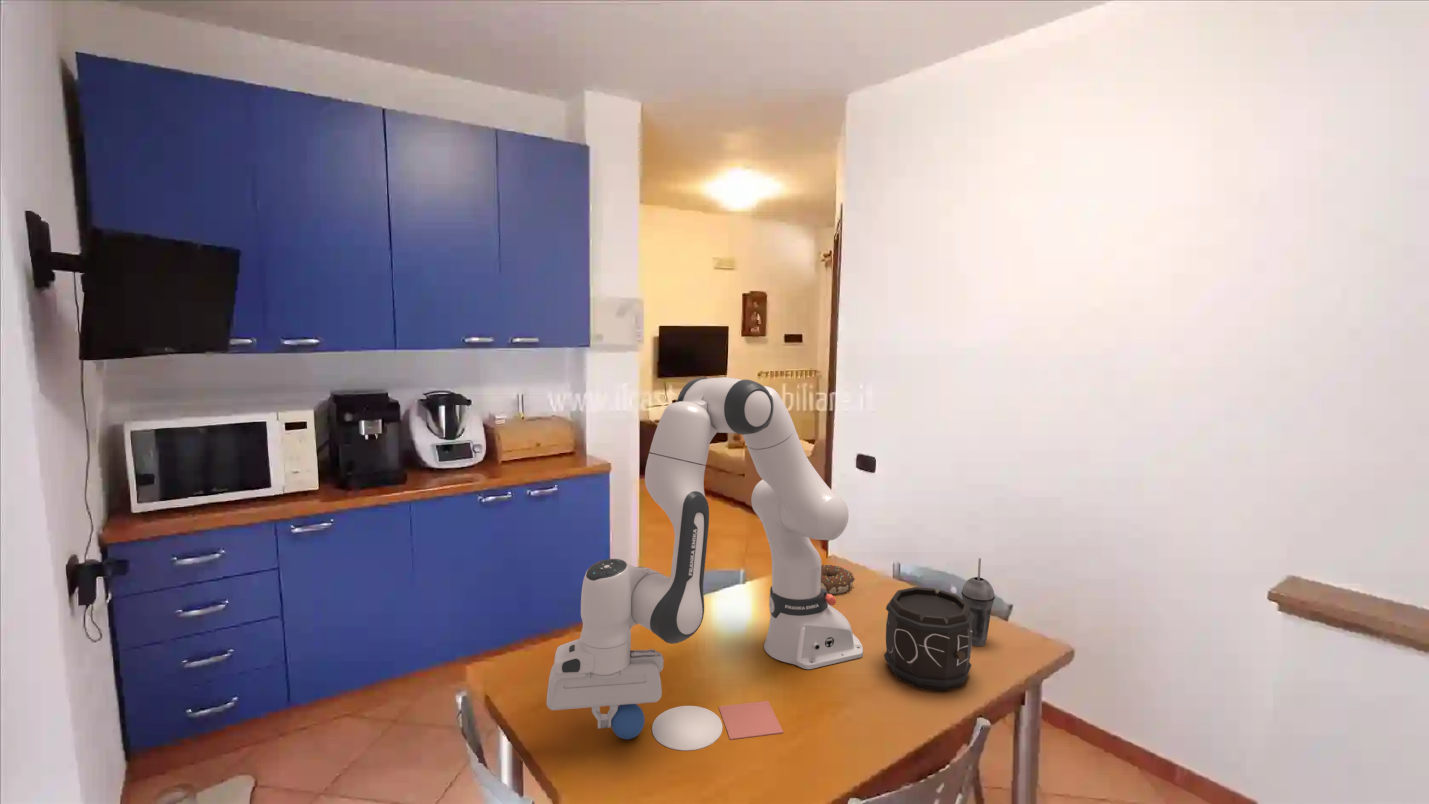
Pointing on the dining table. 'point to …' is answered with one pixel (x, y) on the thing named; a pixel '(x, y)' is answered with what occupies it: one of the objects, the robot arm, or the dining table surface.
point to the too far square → (750, 720)
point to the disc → (687, 728)
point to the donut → (835, 579)
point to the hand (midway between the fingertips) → (604, 726)
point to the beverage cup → (979, 606)
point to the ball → (628, 721)
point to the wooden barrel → (929, 638)
